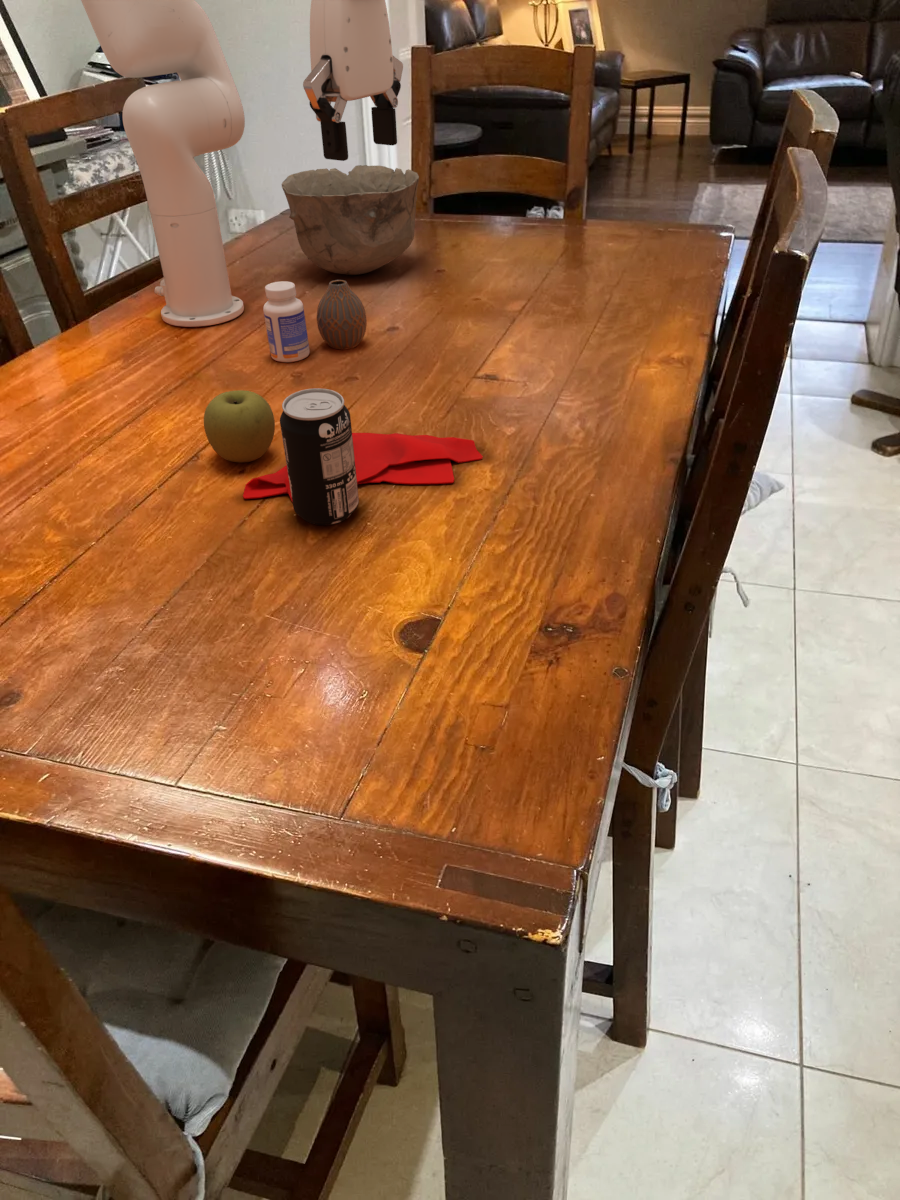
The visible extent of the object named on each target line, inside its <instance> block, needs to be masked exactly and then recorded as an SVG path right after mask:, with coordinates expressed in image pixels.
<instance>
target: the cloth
mask: <svg viewBox="0 0 900 1200" xmlns="http://www.w3.org/2000/svg"><path fill="white" fill-rule="evenodd" d="M352 438H353V448H354V458H355V467H356V477H357V485H363V484H370V483H371V484H373V483H374V484H375V483H379V484H380V483H381V482H386V483H390V484H396V485H440V484H441V485H444V484H453V483H454V482H455V477H454V471H453V466H452V463H451V461H453V462H456V463H458V464H462V463H466V462H467V463H468V462H473V461H474V462H475V461H481V460H483V457H484V456H483V455H482V454H481V453H480V451H478V449H477V446H476V443H475V440H473V439H468V438H460V437H455V436H447V437H438V436H433V435H430V434H417V435H415V434H414V435H413V434H404V433H398V432H394V433H388V434H387V433H376V432H352ZM242 493H243V494H242V498H243V499H244V500H250V499H263V498H267V497H268V498H269V497H272V496H273V497H274V496H279V495H285V494H288V496H289V499H290V501H291V503H292V504H293V502H292V496H291V489H290V483H289V477H288V470H287V464H285V465H284V466H283V467H281V468H280V469H279V470H277V471H276V472H273V473H267V474H263V475H261V476H257V477H253V478H251V479H250V480H249V481H248V482H247V483H246V484H245V485H244V490H243V492H242Z"/></svg>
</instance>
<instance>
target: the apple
mask: <svg viewBox="0 0 900 1200" xmlns="http://www.w3.org/2000/svg"><path fill="white" fill-rule="evenodd" d="M203 413H204V414H203V428H204V433H205V435H206V439H207V442H208V443H209V444H210V447H211V448H212V450H214V451H215V453H216V454H217V455H219V456H220V457H221V458H222V459H224V460H226V461H228V462H234V463H249V462H253V461H256V460H258V459H260V458H261V457H262V456H264V455H265V453H266V452H267V451H268V450H269V449H270V447H271V445H272V443H273V440H274V436H275V431H276V422H275V421H276V420H275V416H274V412H273V409H272V407H271V405H270V404H269V403H268V401H267V400H266V399H265V398H264V397H263V396H262V395H260V394H258V393H256V392H255V391H252V390H244V389H243V390H240V389H239V390H229V391H225V392H222V393H220V394H218V395H216V396H215V397H213V398H212V400H210V401H209V402H208V404H207V406H206V408H205V410H204V412H203Z"/></svg>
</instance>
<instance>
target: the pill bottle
mask: <svg viewBox="0 0 900 1200" xmlns="http://www.w3.org/2000/svg"><path fill="white" fill-rule="evenodd" d="M264 291H265V297H266V300H267V301H266V302H265V303H264V305H263V307H262V309H263V316H264V317H263V318H264V322H265V323H264V324H265V329H266V335H267V340H268V342H267V343H268V347H269V354H270V357H271V358H272V359H273V360H274V361H277V362H281V363H293V362H298V361H302V360H304V359H306V358H307V357H309V355H310V352H311V350H310V342H309V336H308V330H307V329H308V328H307V324H306V323H307V322H306V315H305V309H304V303H303V302H302V300H301V299H299V298H298V297H296V296H297V290H296V285H295V283H294V282H292V281H287V280H282V281H274V282H271V283H268V284H266V285H265V286H264Z"/></svg>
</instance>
